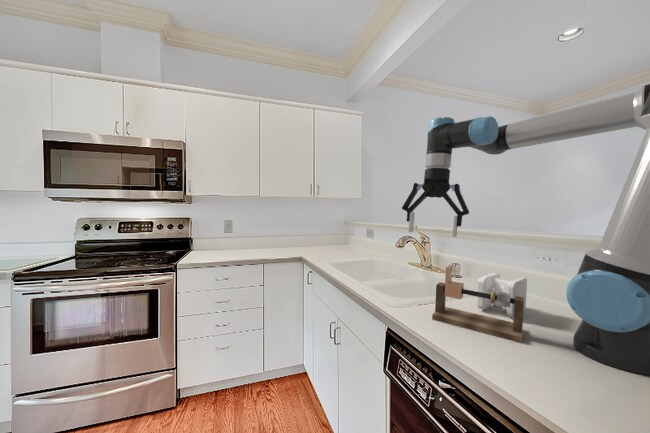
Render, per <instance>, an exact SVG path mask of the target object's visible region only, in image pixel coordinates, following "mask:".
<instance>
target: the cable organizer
mask: <svg viewBox="0 0 650 433" xmlns="http://www.w3.org/2000/svg"><path fill="white" fill-rule="evenodd" d="M476 283H477V284H478V285H477V287H478V288H477V292H482V293H487V294H491V291H492V292H496V295H497V293H498V292H504V293H509V294H511V298H514V299H515V296H518V297H524V308H523V312H525V309H526V307H527V305H526V304H527V291H528V288H527V287H528V279H527V277H521V276H520V277H518V278H515V279H513V280H506V279H501V275H500V274H499V273H497V272H492V273H488V274H485V275H482V276H480V277H479V278H478V279H477V282H476ZM494 306H495V307H498V308H501V309H502V311H503V312H505V311H506V315H507V316H508V317H509V318H511V319H514V304H513V303H510V307H506V306H501V305H497V300H495V303H492V302H491V299H487V298H482V297H477V309H480V310H482V311H485V310H487V309H489V308H491V309H494Z"/></svg>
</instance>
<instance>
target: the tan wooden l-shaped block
mask: <svg viewBox="0 0 650 433" xmlns="http://www.w3.org/2000/svg"><path fill="white" fill-rule="evenodd" d="M444 283H445V296H446V297H447V298H451V299H458V300H462V299H463V297H464V294H462V289H465V288H464V287H465V286H464V282H457V281H453V265H451V264H449V265H448V264H447V266H445V281H444Z"/></svg>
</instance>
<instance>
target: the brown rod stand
mask: <svg viewBox="0 0 650 433" xmlns="http://www.w3.org/2000/svg"><path fill="white" fill-rule="evenodd" d="M462 294H463V295H466V296H467V295H468V296H472V297H477V298H478V297H482V298H487V299H491V302H492V303H495V300H497V305H501V306H506V307H510V303H513V304H514V318H513V320H512V321H510V320H509V321H508V320H503V319H501V318H500V319H499V318H496V317H490V316H487V315H482V314H479V313H474V312H470V311H465V310H461V309H457V308H452V307H447V306H446V296H445V282H440V281H439V282H438V283H437V284H436V287H435V306H434V309H435V310H434V312H433V313H432V316H431V320H433V321H437V322H440V323H445V324H448V325H452V326H456V327H460V328H463V329H466V330H472V331H475V332H479V333H483V334H486V335H490V336H493V337H497V338H502V339H505V340H509V341H513V342H517V343H520V344H522V343H523V326H524V324H523V323H524V322H523V321H524V311H523V308H524V297H518V296H515V299H514V298H511V294H509V293H504V292H498V293H497V295H496V292H492V291H491V294H487V293H482V292H478V291H476V290H472V289H471V290H469V289H465V288H464V289H462Z"/></svg>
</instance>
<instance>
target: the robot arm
mask: <svg viewBox="0 0 650 433" xmlns="http://www.w3.org/2000/svg"><path fill="white" fill-rule="evenodd" d="M636 127H637V128H640V129H642V130H644V131H645V133H644V135H643V138H642V140H641V143H640V145H639V147H638V151H637V153H636V154H635V158H634V160H633V162H632V165H631V167H630V169H629V173H628V175H627V177H626V180H625V182H624V185H623V188H622V189H621V192H620V195H619V197H618V200H617V201H616V205H615V207H614V209H613V212H612V214H611V216H610V219H609V222H608V223H607V227H606V229H605V231H604V233H603V236H602V239H601V241H600V244H599V245H598V247H597V248H593V249H590V250H587V251H586V253H585V254H584V256H583V258H582V260H581V264H580V267H579V269H578V271H577V274H576V275H575V276H574V277H572V278H571V280H569V282H568V283H567V286H566V287H567V288H566V291H565V292H566V293H565V294H566V300H567V302H568V305H569V307H570V308H571V310H572V311H573V312H574V314H576V315H577V316H578V317H579V318H580V319H581V322H580V323H579V326H578V327H577V329H576V331H575V332H574V334H573V338H572V339H573V340H572V346H573V347H574V348H575V350H577V352H579V353H581V354H582V355H585V356H586V357H588V358H590V359H593V360H594V361H597V362H599V363H602V364H605V365H607V366H610V367H613V368H617V369H620V370H623V371H626V372H627V371H628V372H631V373H636V374H641V375H645V376H646V375H647V376H650V83H649V84H646V85H645V84H644V85H642V86H641V87H640V88H639V89H638V90H637V91H635V92H632V93H629V94H625V95H624V94H623V95H620V96H617V97H612V98H608V99H603V100H600V101H596V102H593V103H588V104H585V105H580V106H576V107H572V108H568V109H565V110H564V109H563V110H561V111H556V112H552V113H548V114H545V115H544V114H543V115H540V116H536V117H531V118H529V119H528V118H527V119H525V120H524V119H523V120H520V121H516V122H512V123H508V124H505V125H501V126H499V124H498V121H497V120H496V118H495V117H493V116H484V117H483V116H479V117H477V118H472V119H468V120H463V121H458V122H455V120H454V118H452V117H448V116H443V117H435V118H433V119H432V120H430V121H429V125H428V131H427V143H426V145H427V146H426V154H425V165H424V167H425V168H426V169H424V175H423V176H424V178H423V183H417V182H414V183H413V184H412V185H413V187H412V190H411V192H410V193H409V195H408V197H407V198H406V200H405V202H404V204H403V205H402V207H401V209H402V210H403V211H406V213H407V214H406V222H409V223H408V232H410V233H412V232H414V225H415V214H416V213H415V212H413V211H414V210H416V208H417V207H418V206H419V205H420V204H421V203H422V202H423V201H424V200H425V199H427V198H428V197H429V198H438V199H440V198H443V199H444V200H445V201H446V203H447V204H448V205H449V207H450V208H451V209H452V210H453V211H454V213H455V214H456V215H454V218H453V226H452V228H453V229H452V238H457V235H458V227H461V226H462V222H463V216H465V215H469V214H470V211H469V208H468V206H467V204H466V201H465V199H464V197H463V194H462V193H461V185H460V184H458V183H455V184H450V178H451V177H450V175H451V170H450V168H451V166H452V153H453V149H459V148H472V149H475V150H478V151H481V152H483V153H486V154H488V155H501V154H504V153H505V152H506V151H508V150H509V151H510V150H513V149H520V148H525V147H531V146H535V145H536V146H537V145H542V144H543V145H544V144H548V143H552V142H554V143H555V142H558V141H564V140H570V139H575V138H580V137H586V136H593V135H596V134H603V133H609V132H614V131H620V130H624V129H625V130H626V129H631V128H636ZM421 189H422V190H423V192H422V193H421V194H420V196H419V197H418V198H417V199H416V200H415V201H414V199H415V197H416V195H417V193H418V191H420V190H421ZM449 190H452V192H454V194H455V196H456V199H457V200H458V203H459V205H460V207H461V209H460V208H459V207H458V206H457V204H456V203H455V202H454V201H453V199H452V198H451V196H450V195H449V194H448V191H449ZM412 202H413V203H412Z"/></svg>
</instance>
